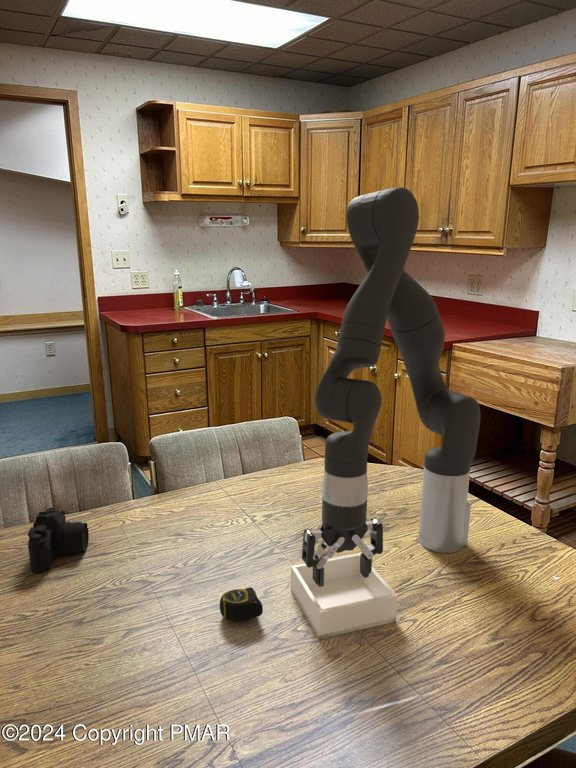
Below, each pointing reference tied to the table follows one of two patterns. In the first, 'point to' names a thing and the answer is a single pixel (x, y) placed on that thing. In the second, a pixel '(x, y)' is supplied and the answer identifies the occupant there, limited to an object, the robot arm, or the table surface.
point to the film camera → (54, 539)
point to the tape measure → (240, 605)
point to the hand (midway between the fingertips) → (341, 579)
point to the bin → (343, 597)
